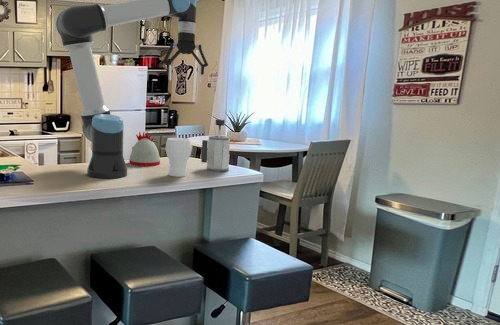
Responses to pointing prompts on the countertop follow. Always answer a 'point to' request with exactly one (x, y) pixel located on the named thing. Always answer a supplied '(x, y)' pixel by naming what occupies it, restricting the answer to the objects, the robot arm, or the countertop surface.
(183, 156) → the cup
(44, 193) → the countertop surface
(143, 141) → the grey and red dome
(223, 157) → the carafe
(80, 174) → the countertop surface
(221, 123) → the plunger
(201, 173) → the countertop surface
